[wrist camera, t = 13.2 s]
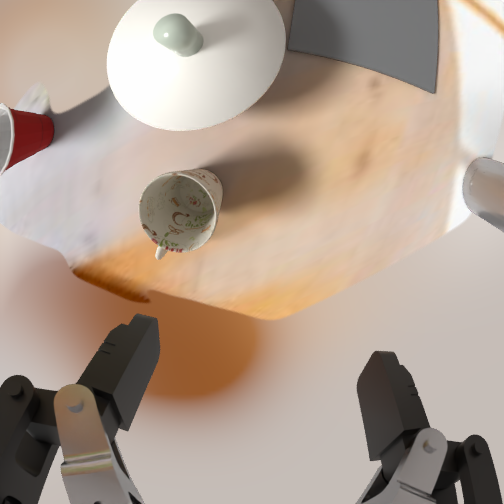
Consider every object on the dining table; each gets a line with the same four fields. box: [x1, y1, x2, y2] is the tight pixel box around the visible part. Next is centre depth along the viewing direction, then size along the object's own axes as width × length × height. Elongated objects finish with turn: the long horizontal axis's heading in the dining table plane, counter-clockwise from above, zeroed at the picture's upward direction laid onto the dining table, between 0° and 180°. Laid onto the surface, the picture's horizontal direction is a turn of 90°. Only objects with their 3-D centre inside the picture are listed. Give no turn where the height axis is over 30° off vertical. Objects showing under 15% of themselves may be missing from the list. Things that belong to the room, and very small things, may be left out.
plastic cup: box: [0, 103, 54, 176], centre depth 27 cm, size 11×11×12 cm
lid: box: [107, 0, 286, 131], centre depth 19 cm, size 19×19×6 cm
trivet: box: [288, 0, 438, 94], centre depth 23 cm, size 20×20×1 cm
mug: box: [139, 169, 223, 260], centre depth 32 cm, size 8×13×10 cm, turn 151°
